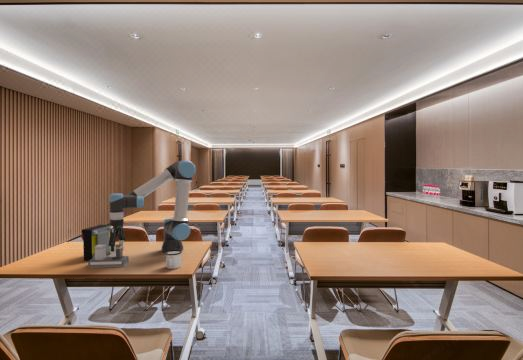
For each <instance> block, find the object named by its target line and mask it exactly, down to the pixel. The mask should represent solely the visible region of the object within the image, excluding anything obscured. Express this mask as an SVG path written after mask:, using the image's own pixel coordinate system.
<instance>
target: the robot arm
mask: <svg viewBox="0 0 523 360" xmlns="http://www.w3.org/2000/svg"><path fill="white" fill-rule="evenodd" d="M195 173H196V165H195V163H193V162H192V161H190V160H187V159H185V160H177V161H175V162H173V163H171V164H169V166H166V167H165V168H164V171H162V172H161V173H160V174H157V175H156V176H154V177H153V178H151V179H149V180H148V181H147V182H145V183H144V184H142V185H140V186H139V187H137V188H136V189H134V190H133V191H131V192H129V193H128V194H127V193H126V194H123V193H120V192H119V193H111V194H110V195H109V200H108V201H109V214H108V216H109V218H110V220H109V225H110V226H111V227H112V229H111V232H110V239H109V245H108V246H110V254H109V255H110V256H111V257H116V246H115V244H117V238H118V239H119V240H118V244H122V245H123V247H122V249H123V252H124V250H125V246H124V245H125V244H124V243H125V240H126V236H125V230H124V223H125V222H124V221H125V220H124V215H125V214H124V213H125V212H124V209H126V210H127V209H139V208H143V207H144V206H145V199H144V198H145V197H147V196H148V195H150V194H151V193H154V192H155V191H156V190H158V189H159V188H160V187H162V186H163V185H165V184H167V183H168V182H170V181H176V189H175V191H176V192H175V199H174V212H173V213H174V214H173V217H172V218H165V219H164V220H163V242H162V245H161V252H162V253H165V252H167V251H170V250H180V251H184V245H183V242H182V241H184V240H186V239H187V238H188V237H189V236H190V234H191V227H190V226H189V222H190V221H189V218H188V209H189V208H188V207H189V199H190V198H189V195H190V185H191V183H192V182H193V178H194V175H195Z"/></svg>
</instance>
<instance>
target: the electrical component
mask: <svg viewBox="0 0 523 360" xmlns="http://www.w3.org/2000/svg"><path fill="white" fill-rule="evenodd" d="M111 229H113V226H110V224H97V225H94V226H91V227H88V228H83V229H81V235H80V238H81V240H82V241H83V245H82V247H83V249H82V250H83V261H84V262H88V261H89V260H91V259H92V258H94V257H95V246H97V245H106V256H109V255H111V254H110V246H108V245H109V239H110V232H111Z"/></svg>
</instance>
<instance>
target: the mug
mask: <svg viewBox="0 0 523 360" xmlns="http://www.w3.org/2000/svg"><path fill="white" fill-rule="evenodd" d="M182 251H183V250H182ZM182 251H180V250H170V251H167V252H164V254H165V256H166V259H165V261H166V265H165V266H166V267H165V268H166V269H167V270H177V269H180V268H181V267H182V255H181V254H182V253H183V252H182ZM176 268H177V269H176Z"/></svg>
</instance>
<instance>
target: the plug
mask: <svg viewBox="0 0 523 360" xmlns="http://www.w3.org/2000/svg"><path fill="white" fill-rule="evenodd" d="M115 246H116V257H112V260H118V259H122V258H123V256H124V255H123V252H124V251H123V249H122V247H123V245H122V244H119V243H118V244H117V243H115Z"/></svg>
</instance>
